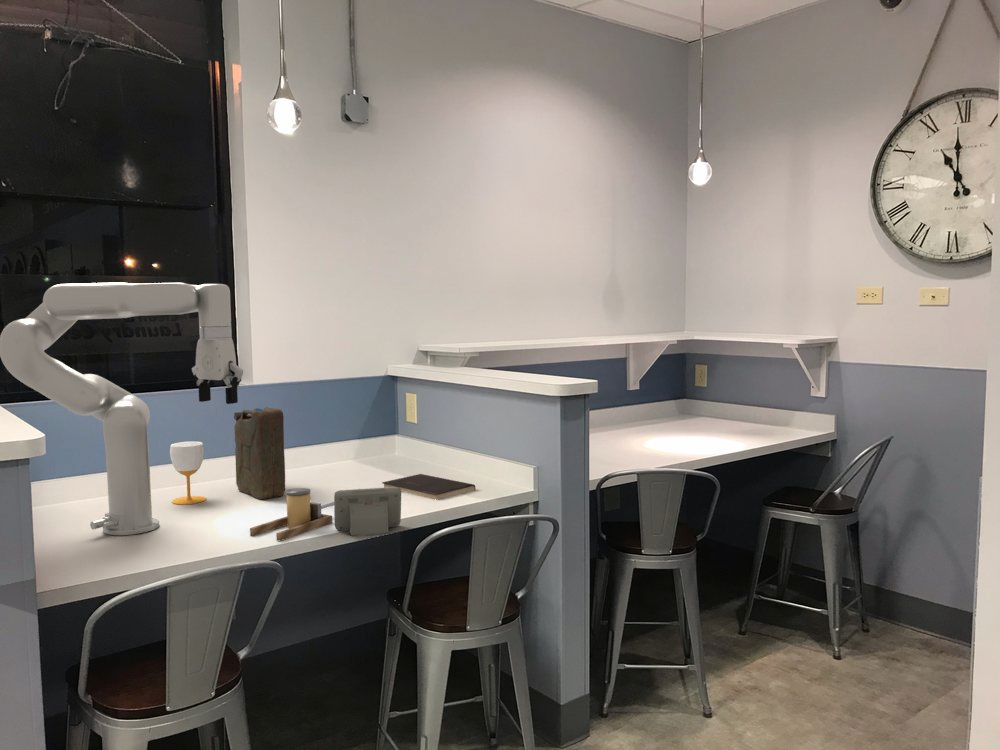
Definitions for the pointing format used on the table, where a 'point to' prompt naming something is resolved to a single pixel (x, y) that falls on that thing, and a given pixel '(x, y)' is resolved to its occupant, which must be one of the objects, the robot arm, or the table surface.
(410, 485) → the hardcover book
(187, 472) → the cup
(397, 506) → the digital clock
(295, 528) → the lane
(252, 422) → the canister
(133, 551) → the table surface
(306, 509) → the jar
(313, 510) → the pusher
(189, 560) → the table surface
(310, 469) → the table surface
